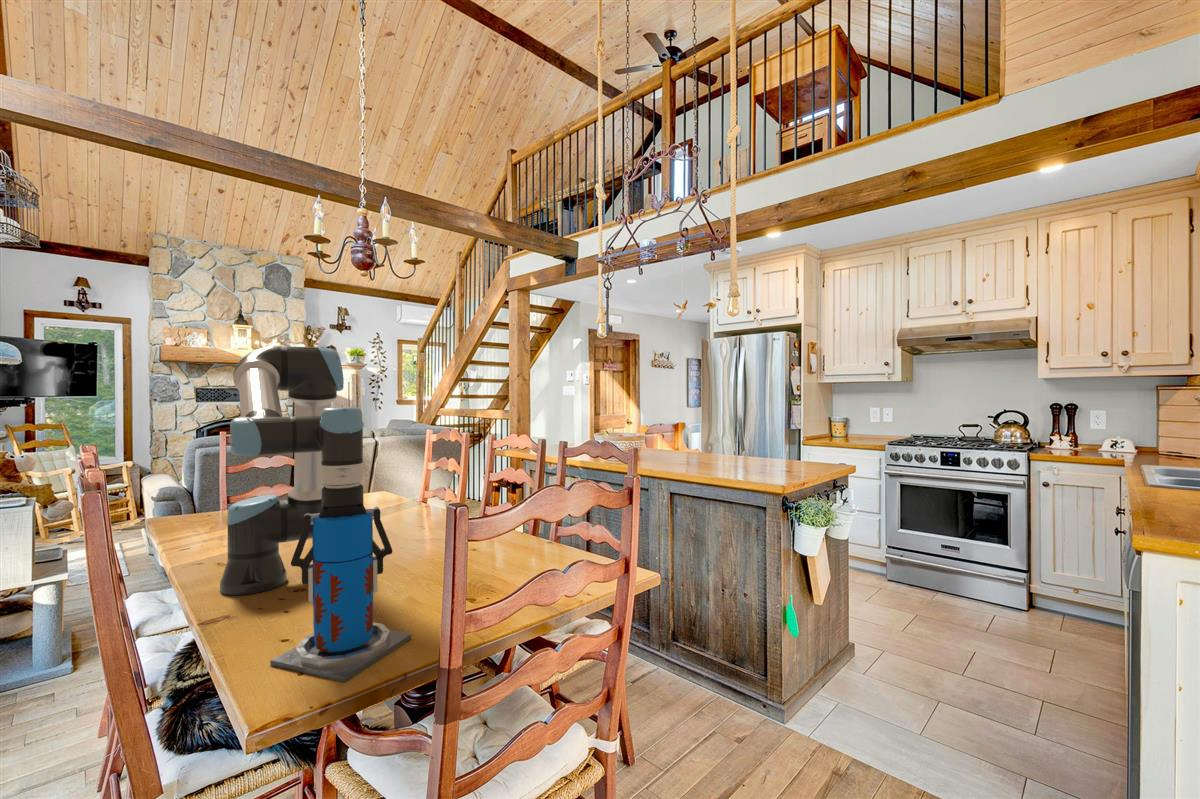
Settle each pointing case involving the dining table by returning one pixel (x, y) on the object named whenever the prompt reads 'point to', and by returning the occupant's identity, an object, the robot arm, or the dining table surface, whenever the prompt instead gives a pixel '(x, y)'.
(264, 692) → the dining table surface
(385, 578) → the dining table surface
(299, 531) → the robot arm
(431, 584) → the dining table surface
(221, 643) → the dining table surface
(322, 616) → the thermos
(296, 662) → the collar dock
